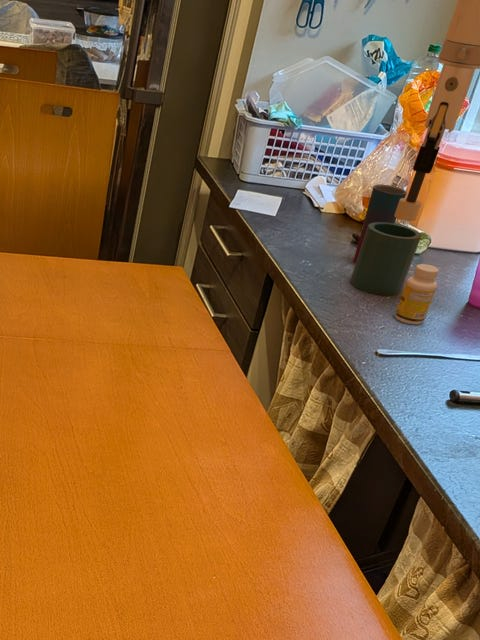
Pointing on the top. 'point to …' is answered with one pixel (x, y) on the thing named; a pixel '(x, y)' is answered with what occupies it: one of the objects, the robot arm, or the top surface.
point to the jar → (385, 258)
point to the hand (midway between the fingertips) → (422, 169)
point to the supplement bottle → (417, 295)
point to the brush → (411, 200)
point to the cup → (381, 208)
